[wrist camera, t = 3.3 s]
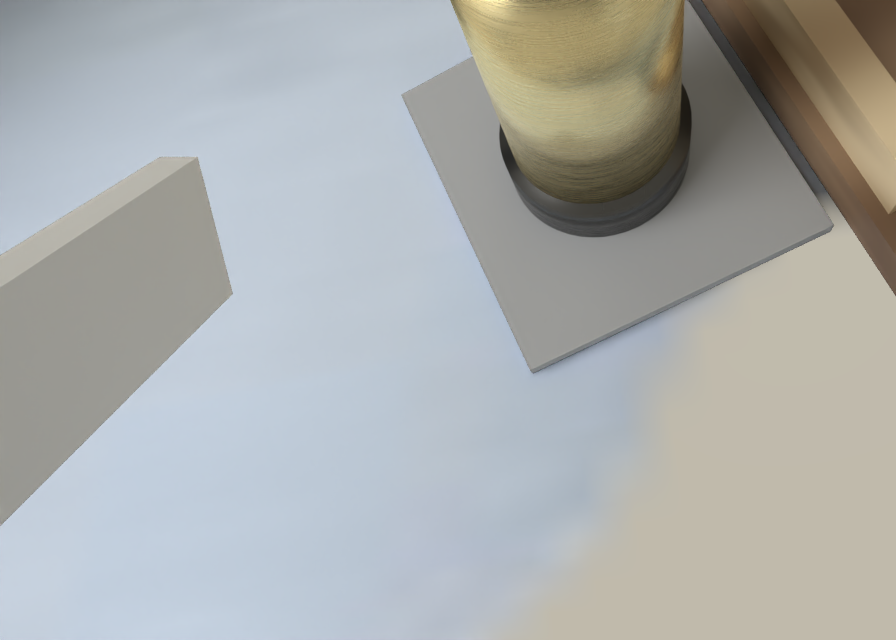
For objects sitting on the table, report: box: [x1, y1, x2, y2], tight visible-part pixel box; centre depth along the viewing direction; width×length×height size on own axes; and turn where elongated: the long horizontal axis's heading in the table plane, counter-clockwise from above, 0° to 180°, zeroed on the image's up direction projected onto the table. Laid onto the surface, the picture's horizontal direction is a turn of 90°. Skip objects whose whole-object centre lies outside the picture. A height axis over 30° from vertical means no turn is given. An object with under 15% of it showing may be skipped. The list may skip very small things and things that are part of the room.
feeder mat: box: [402, 0, 834, 373], centre depth 24 cm, size 10×9×1 cm
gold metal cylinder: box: [450, 0, 692, 237], centre depth 19 cm, size 5×5×11 cm
